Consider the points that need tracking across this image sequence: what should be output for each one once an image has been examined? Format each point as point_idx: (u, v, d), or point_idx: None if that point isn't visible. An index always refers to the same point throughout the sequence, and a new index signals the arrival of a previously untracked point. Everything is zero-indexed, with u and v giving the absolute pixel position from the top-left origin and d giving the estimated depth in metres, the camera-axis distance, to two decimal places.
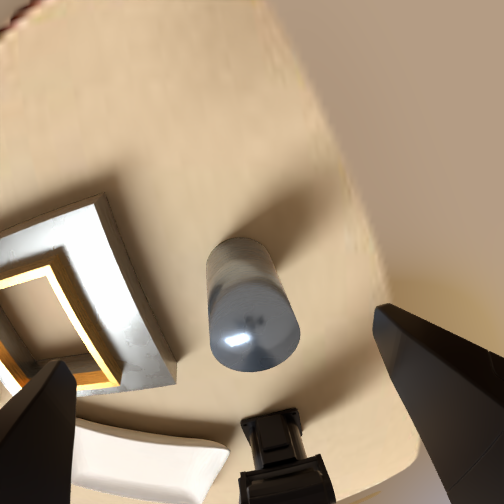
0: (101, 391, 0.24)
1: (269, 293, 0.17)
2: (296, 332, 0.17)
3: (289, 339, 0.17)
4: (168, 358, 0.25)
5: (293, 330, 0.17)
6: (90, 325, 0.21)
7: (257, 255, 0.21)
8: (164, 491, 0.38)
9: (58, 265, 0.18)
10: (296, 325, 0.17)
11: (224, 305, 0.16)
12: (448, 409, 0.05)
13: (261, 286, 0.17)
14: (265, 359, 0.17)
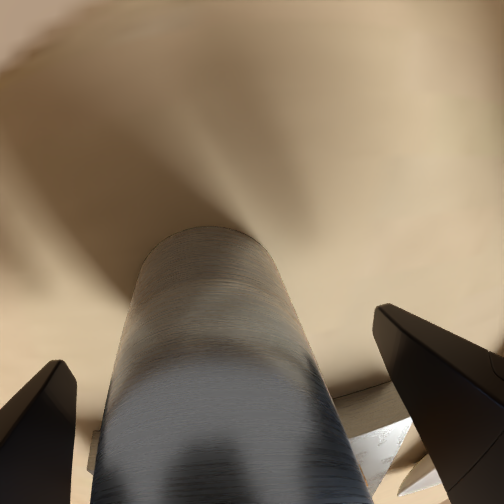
0: (381, 473, 0.16)
1: (94, 472, 0.04)
2: None
3: None
4: (370, 410, 0.13)
5: None
6: None
7: (127, 315, 0.08)
8: None
9: None
10: None
11: None
12: (448, 409, 0.05)
13: None
14: None
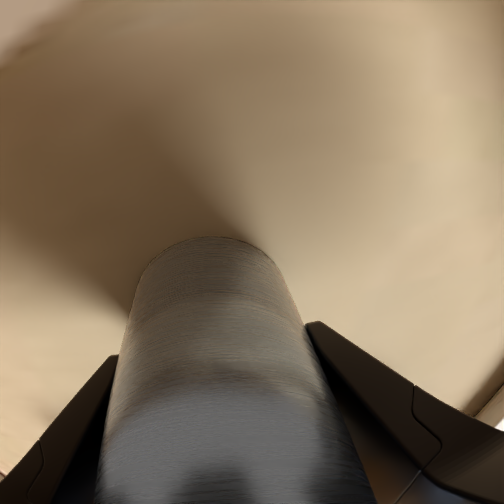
0: None
1: None
2: None
3: None
4: None
5: None
6: None
7: (124, 336, 0.07)
8: None
9: None
10: None
11: None
12: (364, 444, 0.05)
13: (96, 490, 0.04)
14: None
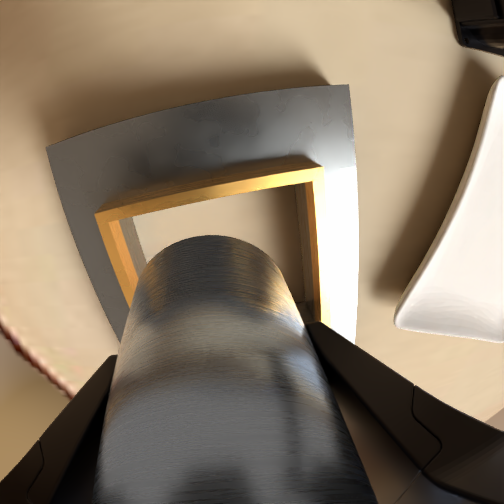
0: (351, 212, 0.18)
1: None
2: None
3: None
4: None
5: None
6: (207, 181, 0.15)
7: (123, 334, 0.07)
8: None
9: (109, 204, 0.15)
10: None
11: None
12: (364, 444, 0.05)
13: None
14: None
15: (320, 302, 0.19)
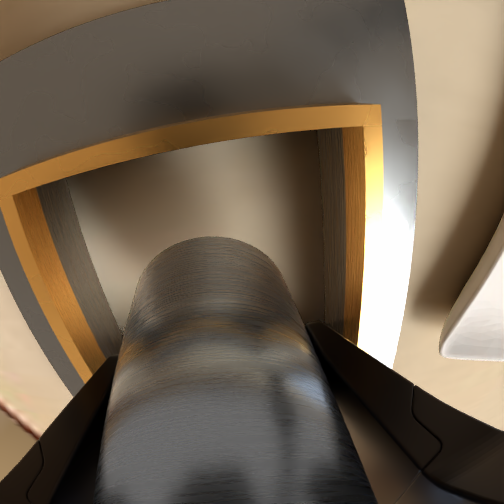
0: (408, 191, 0.11)
1: None
2: None
3: None
4: None
5: None
6: (176, 123, 0.08)
7: None
8: None
9: (21, 168, 0.08)
10: None
11: None
12: (364, 443, 0.05)
13: None
14: None
15: (357, 332, 0.11)
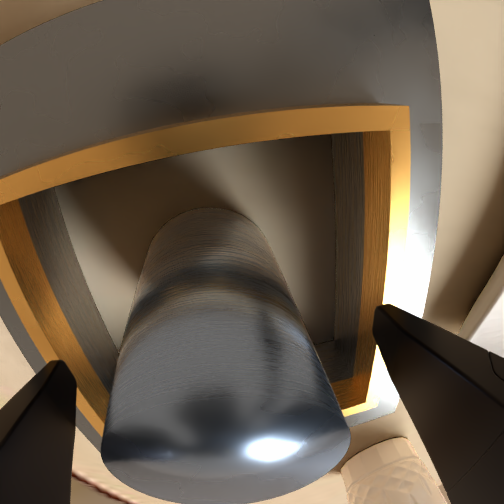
0: (430, 202, 0.09)
1: (109, 399, 0.05)
2: (206, 408, 0.04)
3: (237, 421, 0.04)
4: None
5: (195, 416, 0.04)
6: (173, 124, 0.07)
7: (139, 281, 0.09)
8: None
9: (1, 177, 0.07)
10: (171, 410, 0.04)
11: None
12: (448, 409, 0.05)
13: None
14: (307, 449, 0.05)
15: (373, 355, 0.10)
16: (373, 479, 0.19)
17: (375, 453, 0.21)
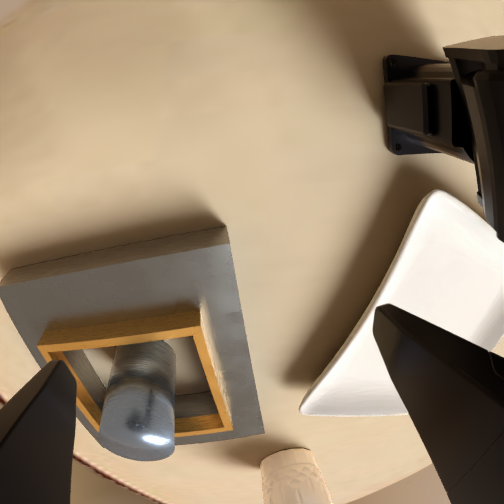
0: (241, 343, 0.20)
1: None
2: (123, 425, 0.15)
3: (131, 429, 0.15)
4: (193, 240, 0.18)
5: (121, 427, 0.15)
6: (113, 327, 0.18)
7: (111, 370, 0.20)
8: (503, 304, 0.26)
9: (47, 335, 0.18)
10: (115, 425, 0.15)
11: None
12: (448, 409, 0.05)
13: None
14: (157, 441, 0.16)
15: (217, 407, 0.21)
16: (275, 475, 0.30)
17: (278, 457, 0.32)
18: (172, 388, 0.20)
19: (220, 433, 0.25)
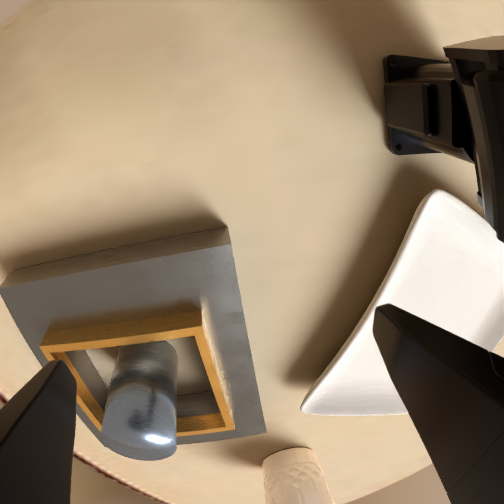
0: (242, 343, 0.21)
1: (103, 419, 0.17)
2: (125, 425, 0.15)
3: (133, 429, 0.16)
4: (195, 241, 0.18)
5: (123, 426, 0.15)
6: (115, 327, 0.18)
7: (113, 370, 0.20)
8: None
9: (50, 336, 0.18)
10: (117, 425, 0.15)
11: None
12: (448, 409, 0.05)
13: None
14: (159, 440, 0.16)
15: (219, 406, 0.21)
16: (276, 474, 0.30)
17: (280, 456, 0.32)
18: (174, 388, 0.20)
19: (222, 432, 0.25)
